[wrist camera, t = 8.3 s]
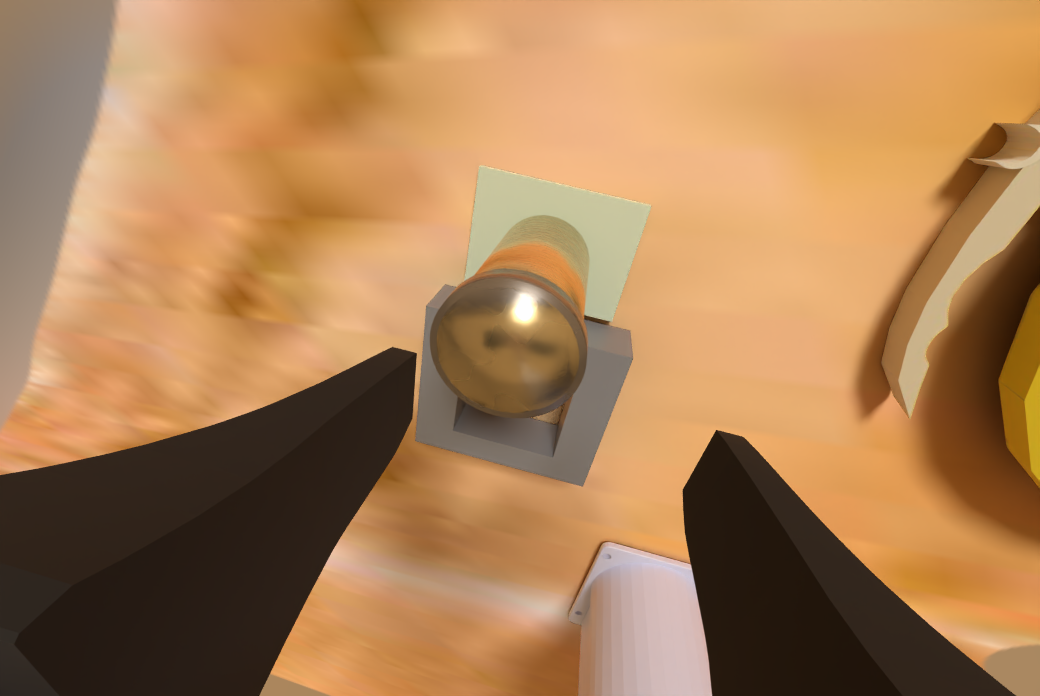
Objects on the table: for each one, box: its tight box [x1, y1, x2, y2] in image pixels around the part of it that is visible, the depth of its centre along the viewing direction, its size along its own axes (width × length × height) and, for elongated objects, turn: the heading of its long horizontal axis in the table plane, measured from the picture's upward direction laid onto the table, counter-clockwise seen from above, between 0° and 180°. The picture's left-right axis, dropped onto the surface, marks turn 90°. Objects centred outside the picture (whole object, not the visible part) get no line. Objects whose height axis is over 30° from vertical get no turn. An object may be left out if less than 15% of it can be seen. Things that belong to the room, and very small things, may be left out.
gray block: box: [415, 285, 633, 486], centre depth 21 cm, size 8×9×2 cm
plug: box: [430, 215, 590, 418], centre depth 15 cm, size 4×4×8 cm
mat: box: [464, 165, 651, 322], centre depth 18 cm, size 5×7×1 cm
